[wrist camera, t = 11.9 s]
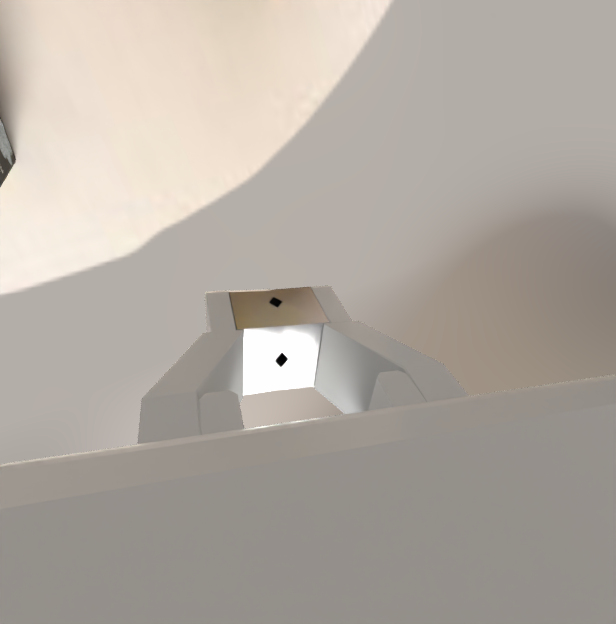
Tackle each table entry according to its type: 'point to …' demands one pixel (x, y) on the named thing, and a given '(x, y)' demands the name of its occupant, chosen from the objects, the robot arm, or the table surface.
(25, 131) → the table surface
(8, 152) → the chalk box
